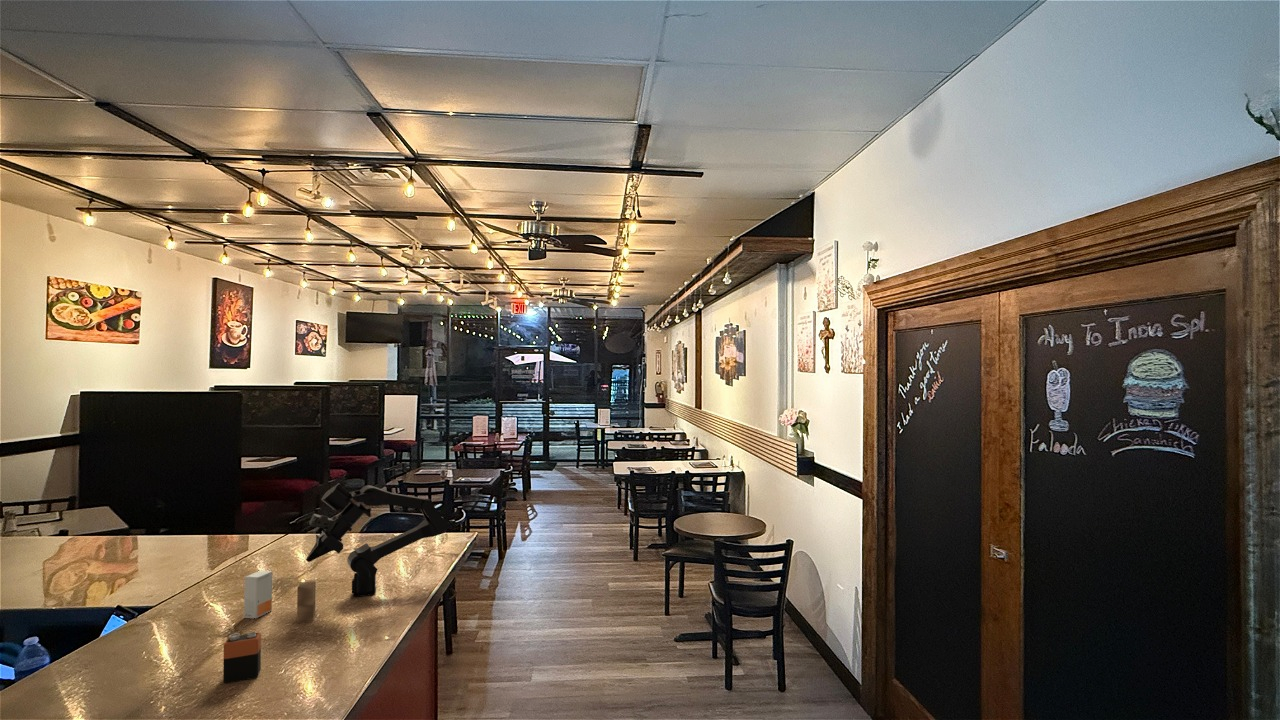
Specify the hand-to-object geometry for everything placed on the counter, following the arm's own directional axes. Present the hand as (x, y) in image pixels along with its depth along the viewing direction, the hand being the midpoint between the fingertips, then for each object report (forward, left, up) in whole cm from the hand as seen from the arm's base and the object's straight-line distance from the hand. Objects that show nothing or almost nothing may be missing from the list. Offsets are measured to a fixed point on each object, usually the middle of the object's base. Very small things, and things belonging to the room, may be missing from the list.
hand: (307, 561), depth 184 cm
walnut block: (-2, +13, -13) cm, 18 cm away
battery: (+6, +45, -14) cm, 47 cm away
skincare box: (+12, +4, -14) cm, 19 cm away
